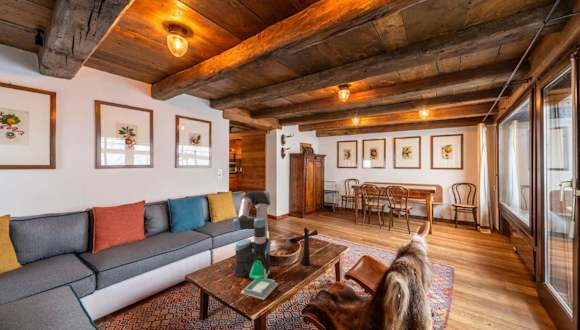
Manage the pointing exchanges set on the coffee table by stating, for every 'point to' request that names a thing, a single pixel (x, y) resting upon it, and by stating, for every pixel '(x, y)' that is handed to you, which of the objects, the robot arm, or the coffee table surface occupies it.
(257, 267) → the camera mount
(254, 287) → the dock
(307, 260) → the flared trumpet-armed statue
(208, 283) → the coffee table surface
